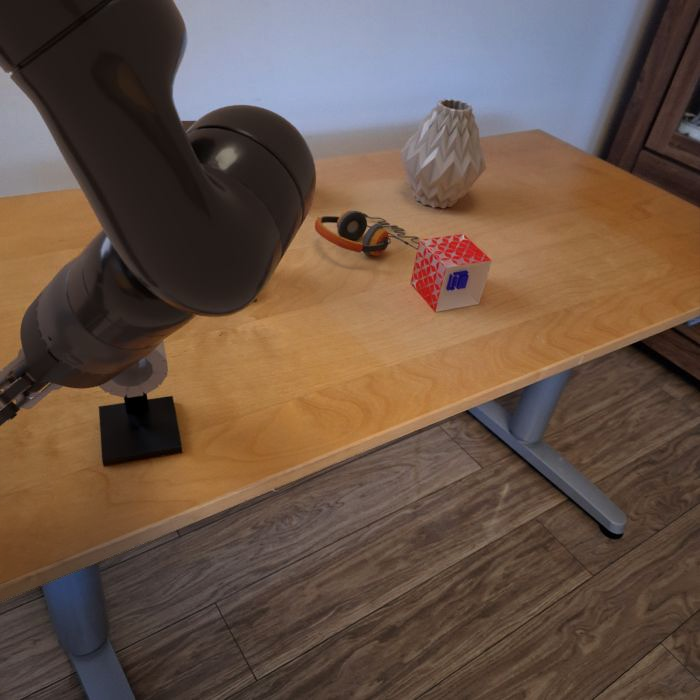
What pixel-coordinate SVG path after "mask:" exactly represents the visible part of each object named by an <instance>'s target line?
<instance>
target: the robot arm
mask: <svg viewBox="0 0 700 700" xmlns="http://www.w3.org/2000/svg"><path fill="white" fill-rule="evenodd" d="M188 39H189V36H188V30H187V25H186V23H185V20H184V18H183V16H182V14H181V12H180V10H179V9H178V6H177V4H176V2H175V1H174V0H0V68H1V69H2V71H3V72H4V74H10V73H11V74H10V76H9V78H10V80H12V82H13V83H14V84H15V85H16V86H17V87H18V88H19V89H20V90H21V91H22V93H23V94H24V95H25V96H26V97H27V98H28V99H29V100H30V101H31V103H32V104H33V105H34V108H35V109H36V111H37V112H38V113H39V115H40V117H41V119H42V121H43V122H44V124H45V126H46V127H47V130H48V131H49V133H50V135H51V137H52V139H53V141H54V142H55V145H56V146H57V148H58V150H59V152H60V154H61V156H62V158H63V160H64V162H65V163H66V165H67V166H68V168H69V170H70V171H71V173H72V175H73V176H74V178H75V180H76V182H77V184H78V186H79V187H80V189H81V191H82V193H83V195H84V197H85V198H86V200H87V202H88V204H89V206H90V208H91V210H92V212H93V214H94V216H95V217H96V220H97V221H98V223H99V224H100V226H101V228H102V229H101V230H100V231H99V232H98V233H96V235H95V236H94V237H93V238H92V239H91V241H89V243H88V244H86V246H85V247H84V248H83V250H81V252H80V253H79V254H78V255H77V256H76V257H74V258H72V259H71V260H70V261H68V262H67V263H66V264H65V265H63V266H62V268H60V269H59V271H58V272H57V273H56V274H55V275H54V276H53V277H52V279H51V280H50V281H49V282H48V283H47V285H46V286H45V287H44V288H43V289H42V291H40V293H38V295H37V296H36V297H35V299H34V300H33V301H32V302H31V304H29V306H28V307H27V309H26V311H25V312H24V314H23V317H22V319H21V323H20V329H19V330H20V333H19V335H20V344H21V348H20V349H19V350H18V355H17V356H16V357H15V358H14V359H12V361H10V362H9V363H7V365H6V366H4V367H3V368H2V369H1V370H0V427H1V426H2V425H3V424H5V423H6V422H8V421H12V420H13V419H15V418H16V417H17V416H18V414H17V413H18V412H19V411H20V410H21V409H25V410H30V409H33V408H34V407H35V406H36V405H37V404H38V403H40V402H41V401H42V400H43V399H44V398H46V397H47V396H48V395H49V394H51V393H52V392H53V391H58V390H61V389H62V388H63V387H64V388H70V389H77V390H78V389H79V390H82V389H83V390H84V389H85V390H86V389H92V388H96V387H99V386H100V385H102V384H104V383H106V382H108V381H110V380H111V379H113V378H114V377H116V376H117V375H119V374H121V373H122V372H124V371H125V370H127V369H128V368H130V367H131V366H133V365H134V364H136V363H137V362H139V361H140V360H142V359H143V358H145V357H146V356H147V355H149V354H150V353H151V352H152V351H153V350H155V349H156V348H157V347H158V346H159V344H160V343H161V342H162V341H163V342H164V340H166V339H167V338H169V337H170V336H171V335H173V334H174V333H176V332H178V331H179V330H180V329H182V328H183V327H185V326H186V325H187V324H189V323H190V322H191V321H193V320H194V319H195V318H196V317H197V316H199V317H206V318H222V317H229V316H232V315H235V314H238V313H240V312H241V311H244V310H245V309H246V308H248V307H249V306H250V305H252V304H253V303H254V302H255V301H254V300H255V299H256V298H257V299H258V297H259V296H260V295H261V294H262V293H263V291H264V290H265V288H266V287H267V285H268V283H269V282H270V280H271V279H272V277H273V275H274V273H275V271H276V270H277V268H278V267H279V264H280V263H281V261H282V259H283V257H284V256H285V254H286V252H287V251H288V249H289V247H290V245H291V244H292V242H293V241H294V239H295V237H296V236H297V233H298V232H299V230H300V229H301V227H302V226H303V223H304V222H305V220H306V218H307V216H308V215H309V213H310V210H311V207H312V204H313V202H314V198H315V194H316V188H317V171H316V170H317V169H316V163H315V159H314V157H313V153H312V151H311V148H310V146H309V144H308V142H307V140H306V139H305V137H304V136H303V135H302V133H301V132H300V131H299V130H298V128H297V127H296V126H295V125H294V124H292V123H291V121H289V120H288V119H286V118H285V117H283V116H282V115H280V114H278V113H277V112H275V111H272V110H271V109H267V108H265V107H261V106H257V105H250V104H233V105H227V106H222V107H218V108H215V109H213V110H211V111H210V112H207V113H206V114H204V115H203V116H201V117H200V118H198V119H197V120H195V121H196V122H195V123H194V124H193V125H192V126H191V127H190V128H189V129H188V130H187V131H185V129H184V127H183V124H182V122H181V121H182V120H181V117H180V115H179V112H178V109H177V106H176V103H175V100H174V85H175V81H176V77H177V74H178V72H179V69H180V66H181V65H182V62H183V60H184V58H185V54H186V52H187V47H188V41H189V40H188ZM14 400H15V402H14Z"/></svg>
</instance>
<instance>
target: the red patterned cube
mask: <svg viewBox="0 0 700 700" xmlns="http://www.w3.org/2000/svg"><path fill="white" fill-rule="evenodd" d="M418 243H419V244H418V246H417V248H418V250H417V249H416V255H415V260H414V266H413V270H412V275H411V279H410V285H411V286H412V287H413V289H414V290H415V291H416V292H417V293H418V294H419V295H420V297H421V298H422V299H423V300H424V301H425V302H426V303H427V305H428V306H429V307H430V308H431V309H432V310H433V311H434V312H435V313H439V312H443V311H449V310H455V309H461V308H466V307H470V306H477V305H480V303H481V299H482V295H483V292H484V289H485V285H486V283H487V282H486V281H487V279H488V277H489V276H488V275H489V272H490V269H491V265H492V262H493V260H492V259H491V258H490V257H489V256H488V255H487V254H486V253H485V252H484V251H483V250H482V249H481V248H479V247H478V246H477V245H476V244H475V243H474V242H473V241H472V240H471V239H470V238H469V237H468V236H467V235H465V234H464V233H463V234H462V233H461V234H454V235H446V236H439V237H437V236H436V237H431V238H422V239H419V242H418Z"/></svg>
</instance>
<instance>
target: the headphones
mask: <svg viewBox="0 0 700 700" xmlns="http://www.w3.org/2000/svg"><path fill="white" fill-rule="evenodd" d="M367 219H372V220H382V221H377V222H376V223H374V224H372V225H368V220H367ZM327 223H328V224H329V223H330V224H336V228H337V229H336V230H337V233H338V234H336V233H335V232H333V231H331V230H330V229H329V228H327V227H326V226H325V225H324V224H327ZM367 228H368V229H367ZM385 228H390V229H392V230H393V231H392V232H393V233H394V234H393V233H391V232H389V231H387V230H386V229H385ZM314 230H315V231H316V233H317V234H318V235H319V236H320V237H322V238H323V239H325V241H328V242H329V243H331V244H333V245H335V246H337V247H340V248H342V249H345V250H348V251H351V252H355V253H362V252H363V253H364V254H365V255H367V256H371V255H372V256H380V254H382V252H383V253H384V251H386V250H387V249H388V247H389V245H390V244H391V243H392V241H391V238H393V239H396V240H399V241H401V242H402V243H404V244H405V245H407V246H409V247H411V248H413V249H415V250H416V251H417V250H418V247H416V246H414V245H412V244H410V243H409V241H406V240H404V239H405V238H406V239H407V238H408V239H410V241H411V242H412V243H414V244H417V245H419V242H418V241H415V240H418V239H419V236H414V235H413V236H412V235H411V236H410V235H409V236H405V235H406V232H404V231H405V228H403V227H399V226H398V225H395V224H394V225H390V223H389V222H387V220H386V219H384V218H382V217H371V216H368V214H366V213H365V212H362V211H358V210H346V211H344V212H342V213H341V214H340V216H333V215H323V216H317V217H316V219H315V221H314ZM366 230H367V231H366ZM395 234H396V235H395ZM363 235H364V236H363ZM361 237H363V239H362V242H358V241H357V240H359V239H360V238H361ZM403 238H404V239H403Z"/></svg>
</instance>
